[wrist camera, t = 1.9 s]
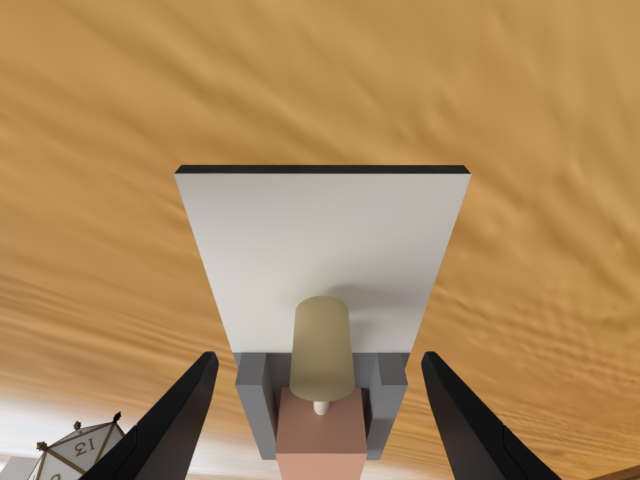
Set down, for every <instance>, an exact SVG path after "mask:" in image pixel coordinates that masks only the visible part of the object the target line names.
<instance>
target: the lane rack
mask: <svg viewBox="0 0 640 480" xmlns="http://www.w3.org/2000/svg"><path fill="white" fill-rule="evenodd" d="M471 175H472V174H471V173H470V172H469V171H468V169H467V168H466V167H465V166H464V165H181V166H180V167H179V168H178V169H177V171H176V172H175V173H174V177H175V180H176V183H177V186H178V189H179V192H180V195H181V198H182V201H183V204H184V207H185V210H186V213H187V216H188V219H189V222H190V225H191V228H192V231H193V234H194V237H195V240H196V243H197V246H198V249H199V253H200V256H201V259H202V262H203V265H204V268H205V271H206V274H207V277H208V280H209V283H210V286H211V289H212V292H213V295H214V298H215V301H216V304H217V307H218V310H219V313H220V316H221V319H222V322H223V325H224V329H225V332H226V335H227V338H228V341H229V344H230V347H231V350H232V353H233V356H234V359H235V362H236V365H237V368H238V373H237V378H236V382H235V386H236V389H237V392H238V395H239V397H240V400H241V403H242V406H243V408H244V411H245V414H246V417H247V419H248V422H249V425H250V428H251V430H252V433H253V436H254V439H255V441H256V444H257V447H258V450H259V452H260V455H261V458H262V460H277V458H276V455H275V451H276V441H277V430H278V420H279V410H280V400H281V390H282V387H290V373H291V360H292V348H293V335H294V323H295V311H296V308H297V306H298V305H299V304H300V303H301V302H302V301H304V300H305V299H307V298H310V297H314V296H330V297H334V298H336V299H339V300H340V301H342V302H343V303H344V304H345V305H346V306H347V308H348V313H349V324H350V335H351V346H352V358H353V369H354V380H355V387H361V396H362V405H363V415H364V425H365V434H366V444H367V457H366V460H380V458H381V455H382V453H383V450H384V447H385V445H386V442H387V440H388V437H389V434H390V432H391V429H392V426H393V424H394V421H395V419H396V416H397V413H398V411H399V408H400V405H401V403H402V400H403V397H404V395H405V392H406V390H407V387H408V382H407V378H406V373H405V367H406V365H407V362H408V359H409V356H410V353H411V350H412V347H413V344H414V341H415V338H416V335H417V333H418V330H419V327H420V324H421V321H422V318H423V315H424V312H425V309H426V306H427V303H428V300H429V298H430V295H431V292H432V289H433V286H434V283H435V280H436V277H437V274H438V271H439V268H440V265H441V263H442V260H443V257H444V254H445V251H446V248H447V245H448V242H449V239H450V236H451V233H452V230H453V228H454V225H455V222H456V219H457V216H458V213H459V210H460V207H461V204H462V201H463V198H464V195H465V193H466V190H467V187H468V184H469V181H470V178H471Z"/></svg>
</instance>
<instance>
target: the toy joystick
mask: <svg viewBox="0 0 640 480" xmlns="http://www.w3.org/2000/svg"><path fill="white" fill-rule="evenodd" d="M275 455H276V458H277V462H278V466H279V469H280V473H281V477H282V480H360V478H361V474H362V471H363V467H364V464H365V461H366V457H367V444H366V434H365V425H364V415H363V405H362V396H361V387H355V380H354V369H353V358H352V346H351V335H350V324H349V313H348V308H347V306H346V305H345V304H344V303H343V302H342V301H340V300H339V299H336V298H334V297H330V296H314V297H310V298H307V299H305V300H304V301H302V302H301V303H300V304H299V305H298V306H297V308H296V311H295V323H294V335H293V348H292V360H291V373H290V387H282V390H281V400H280V410H279V420H278V430H277V441H276V451H275Z"/></svg>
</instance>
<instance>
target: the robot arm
mask: <svg viewBox="0 0 640 480" xmlns="http://www.w3.org/2000/svg"><path fill="white" fill-rule="evenodd" d="M218 368H219V361H218V358H217V356H216V353H215V352H214V351H206V352H204V353H203V354H202V355H201V356H200V357H199V358H198V359H197V360H196V361H195V362H194V363H193V365H192V366H191V367H190V368H189V369H188V370H187V371H186V372H185V373H184V374H183V375H182V376H181V377H180V378H179V379H178V380H177V381H176V382H175V383H174V384H173V385H172V387H171V388H170V389H169V390H168V391H167V392H166V393H165V394H164V395H163V396H162V397H161V398H160V399H159V400H158V401H157V402H156V403H155V404H154V405H153V406H152V408H151V409H150V410H149V411H148V412H147V413H146V414H145V415H144V416H143V417H142V418H141V419H140V420H139V421H138V422H137V423H136V425H134V426H133V427H132V428H131V429H130V430H129V431H128V432H127V433H126V434H125V435H124V436H123V437H122V438H121V439H120V440H119V441H118V442H117V443H116V444H115V445H114V446H113V447H112V448H111V449H110V450H109V451H108V452H107V453H106V454H105V455H104V456H103V457H102V458H101V459H100V460H99V461H97V462H96V463H95V464H94V465H93V466H92V467H91V468H90V469H89V470H88V471H86V472H85V473H84V474H83V475H82V476H81V477H80V478H79V479H78V480H185V478H186V475H187V472H188V469H189V466H190V463H191V460H192V457H193V454H194V451H195V448H196V445H197V442H198V439H199V437H200V434H201V431H202V428H203V425H204V422H205V419H206V416H207V413H208V410H209V407H210V403H211V400H212V396H213V391H214V387H215V382H216V377H217V373H218ZM421 368H422V373H423V377H424V382H425V387H426V391H427V396H428V400H429V403H430V407H431V410H432V413H433V416H434V419H435V422H436V425H437V428H438V431H439V434H440V437H441V439H442V442H443V445H444V448H445V451H446V454H447V457H448V460H449V463H450V466H451V469H452V472H453V475H454V478H455V480H562V479H561V478H560V477H559V476H558V475H557V474H556V473H555V472H554V471H552V470H551V469H550V468H549V467H548V466H547V465H546V464H545V463H544V462H543V461H541V460H540V459H539V458H538V457H537V456H536V455H535V454H534V453H533V452H532V451H531V450H530V449H529V448H528V447H527V446H526V445H525V444H524V443H523V442H522V441H521V440H520V439H519V438H518V437H517V436H516V435H515V434H514V433H513V432H512V431H511V430H510V429H509V428H508V427H507V426H506V425H504V423H503V422H502V421H501V420H500V419H499V418H498V417H497V416H496V415H495V414H494V413H493V412H492V411H491V410H490V409H489V408H488V406H487V405H486V404H485V403H484V402H483V401H482V400H481V399H480V398H479V397H478V396H477V395H476V394H475V393H474V392H473V391H472V390H471V389H470V388H469V387H468V385H467V384H466V383H465V382H464V381H463V380H462V379H461V378H460V377H459V376H458V375H457V374H456V373H455V372H454V371H453V370H452V369H451V368H450V367H449V366H448V365H447V363H446V362H445V361H444V360H443V359H442V358H441V357H440V356H439V355H438V354H437V353H436V352H434V351H426V352H425V353H424V356H423V358H422V361H421Z"/></svg>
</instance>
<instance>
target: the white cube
mask: <svg viewBox="0 0 640 480" xmlns="http://www.w3.org/2000/svg"><path fill="white" fill-rule="evenodd" d="M39 459H40V458H28V457H16V456H11V458H10V459H9V461H8V462H7V464H6V465H5V467H4V468H3V470H2V471H1V473H0V480H28V478H29V476H30V474H31V473H32V471H33V469H34V467H35V466H36V464H37V462H38V460H39Z"/></svg>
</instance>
